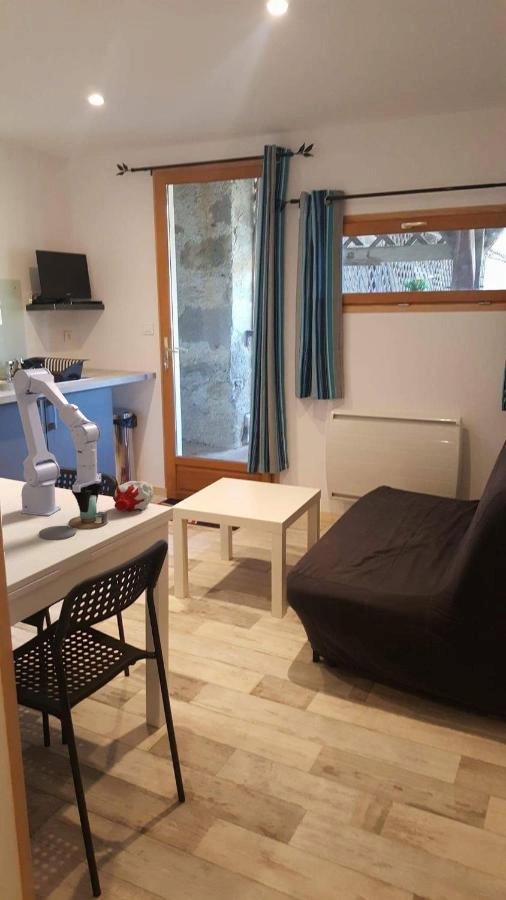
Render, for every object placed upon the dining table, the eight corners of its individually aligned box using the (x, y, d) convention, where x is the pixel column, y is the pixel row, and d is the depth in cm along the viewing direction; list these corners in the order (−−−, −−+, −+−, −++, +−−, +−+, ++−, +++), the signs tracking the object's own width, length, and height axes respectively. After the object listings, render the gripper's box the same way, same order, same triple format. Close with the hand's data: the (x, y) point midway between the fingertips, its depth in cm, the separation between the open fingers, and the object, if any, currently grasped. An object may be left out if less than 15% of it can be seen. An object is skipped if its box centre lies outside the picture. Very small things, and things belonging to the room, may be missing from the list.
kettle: (77, 518, 191) (76, 497, 190) (84, 513, 196) (83, 492, 194) (97, 520, 190) (96, 499, 188) (104, 515, 194) (103, 494, 193)
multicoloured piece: (155, 502, 213) (139, 522, 199) (123, 499, 215) (104, 519, 201) (154, 477, 210) (137, 495, 196) (121, 474, 212) (102, 492, 198)
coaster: (32, 537, 180) (31, 535, 180) (50, 526, 189) (50, 524, 189) (65, 541, 178) (65, 539, 178) (82, 529, 187) (82, 527, 187)
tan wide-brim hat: (61, 527, 189) (61, 515, 188) (79, 515, 200) (79, 504, 199) (97, 530, 187) (97, 519, 186) (114, 518, 198) (113, 507, 197)
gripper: (88, 471, 182) (89, 517, 185) (110, 459, 196) (111, 503, 199) (65, 469, 183) (66, 515, 186) (88, 458, 197) (89, 501, 200)
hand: (88, 509), depth 192 cm, fingers closed on kettle, 5 cm apart
